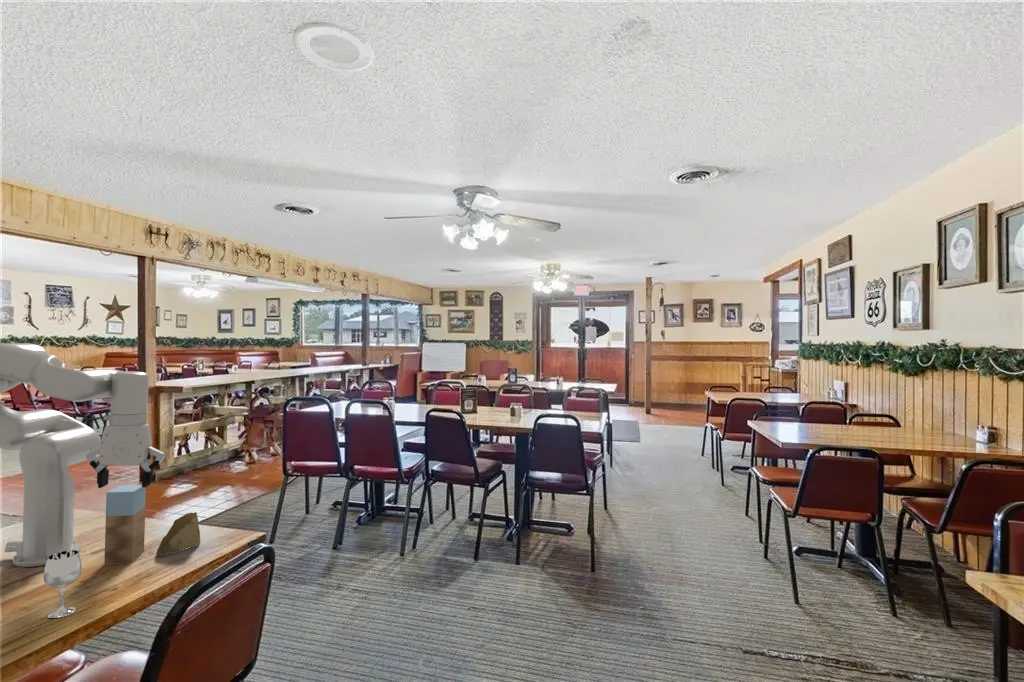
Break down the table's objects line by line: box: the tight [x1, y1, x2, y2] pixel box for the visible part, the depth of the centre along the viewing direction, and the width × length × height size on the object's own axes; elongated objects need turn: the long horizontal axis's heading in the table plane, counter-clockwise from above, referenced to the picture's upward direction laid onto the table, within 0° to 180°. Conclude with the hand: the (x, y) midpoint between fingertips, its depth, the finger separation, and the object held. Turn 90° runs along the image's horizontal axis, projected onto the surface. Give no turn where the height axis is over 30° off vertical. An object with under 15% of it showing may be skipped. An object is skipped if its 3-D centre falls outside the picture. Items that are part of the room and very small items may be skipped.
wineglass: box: [43, 550, 83, 618], centre depth 101 cm, size 6×6×12 cm
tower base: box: [104, 530, 146, 565], centre depth 126 cm, size 6×6×6 cm
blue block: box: [105, 484, 147, 517], centre depth 126 cm, size 6×6×6 cm
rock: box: [155, 511, 201, 558], centre depth 132 cm, size 11×9×10 cm
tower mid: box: [104, 507, 146, 541], centre depth 126 cm, size 6×6×6 cm
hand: (124, 486), depth 126 cm, fingers open, 9 cm apart
